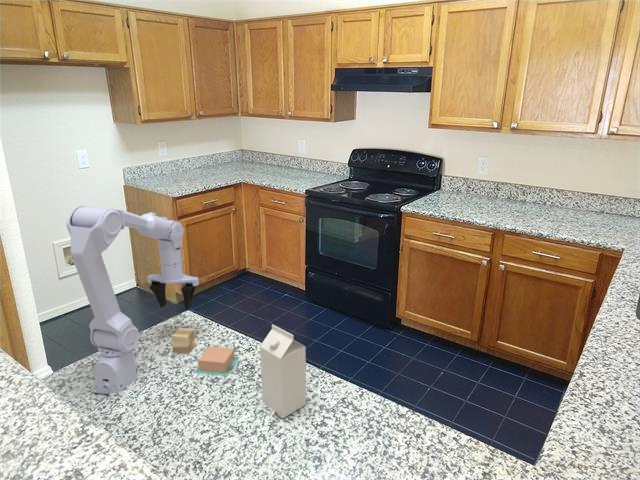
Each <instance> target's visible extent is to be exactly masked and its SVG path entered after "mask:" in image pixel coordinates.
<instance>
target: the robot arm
mask: <svg viewBox="0 0 640 480" xmlns="http://www.w3.org/2000/svg"><path fill="white" fill-rule="evenodd" d="M65 225H66V228H67V230H68V233H69V236H70V255H71V258H72V260H73V264H74V265H75V269H76V271H77V273H78V276H79V280H80V283H81V284H82V287H83V290H84V292H85V294H86V295H85V296H86V297H87V298H86V299H87V300H88V304H89V306H90V308H91V312H92V314H93V316H94V318H93V319H91V321H90V323H89V324H88V327H89V330H90V338H89V339H90V343H91V344H92V345H93V346H94V347H97V348H96V349H97V351H98V352H99V353H100V356H99V359H98V360H97V362H96V363H95V364H94V365H93V370H92V373H93V381H94V386H95V388H94V389H93V391H92V392H93V393H95V394H103V395H111V394H120V393H121V392H123V390H124V389H125V388H126V387H127V386H128V385H130V384H131V383H134V381H136V379H137V367H136V360H135V359H136V358H135V353H134V349H136V347H137V345H138V343H139V339H140V333H139V329H138V328H137V327H136V326H135V325H134V324H133V321H132V319H131V318H130V317H128V316H127V315H126V314H124V313H123V312H122V311H121V309H120V305H119V303H118V300H117V297H116V293H115V291H114V288H113V285H112V282H111V279H110V276H109V274H108V270H107V268H106V264H105V261H104V258H103V255H102V254H103V252H105V251H106V250H108V249H109V247H110V246H111V244H112V243H113V242H114V241H115V239H116V237H118V236H119V234H120V232H121V230H125V227H127V228H132V229H136V231H137V233H138V234H139V235H141V236H143V237H144V236H145V237H148V238H152V239H154V240H155V241H158V250H159V258H160V270H161V273H159V274H154V273H153V274H149V275H148V276H147V277H146V278H147V284H151V285H149V290H150V291H151V292H152V293H153V294H154V296H155V298H156V300H157V302H158V304H159V307H160V308H164V307H165V306H166V305H167V298H166V287H167V286H166V285H167V284H175V285H184V286H182V287H181V292H182V295H183V299H184V309H185V310H189V309H190V308H191V306H192V300H193V296H194V293H195V291H196V288H197V286H198V285H199V284H200V280H199V277H198V276H191V275H187V274H185V273H184V270H183V259H182V257H183V255H182V245H183V239H184V238H183V237H184V233H185V228H184V227H183V225H182V224H181V223H180V222H179V220H169V219H168V217H166V216H157V213H156V212H151V211H149V212H148V213H144V214H142V215H138V214H135V213H132V212H129V211H126V210H124V209H118V208H109V207H108V208H107V207H106V208H105V207H95V206H94V207H93V206H91V207H90V206H89V207H88V206H86V205H85V206H84V205H78V206H76V207H74V208H73V209H72V210H71V212H70V214H69V216H68V218H67V220H66V222H65Z"/></svg>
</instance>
